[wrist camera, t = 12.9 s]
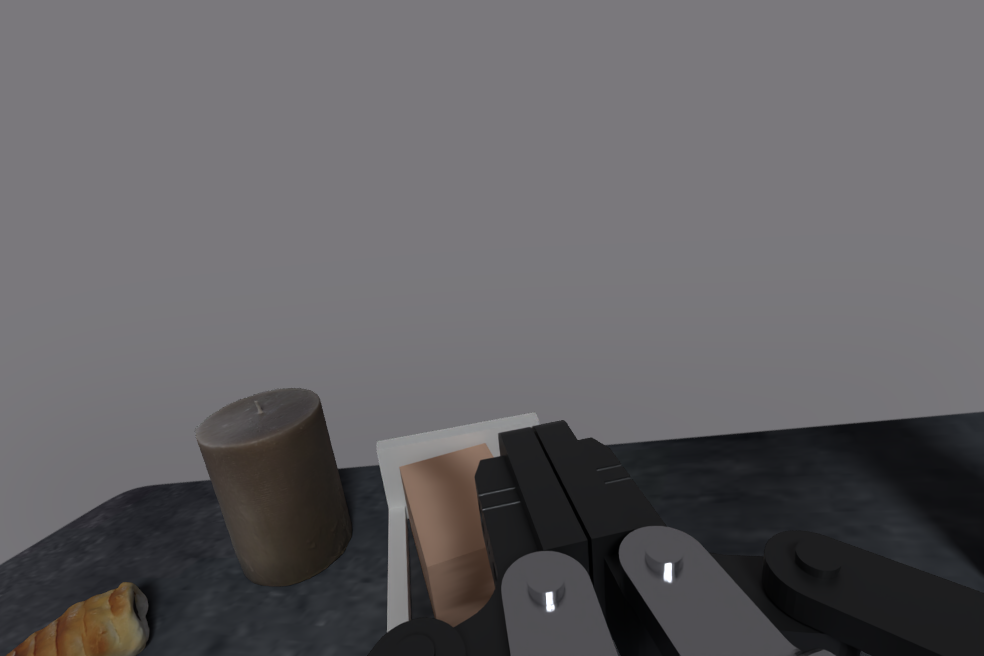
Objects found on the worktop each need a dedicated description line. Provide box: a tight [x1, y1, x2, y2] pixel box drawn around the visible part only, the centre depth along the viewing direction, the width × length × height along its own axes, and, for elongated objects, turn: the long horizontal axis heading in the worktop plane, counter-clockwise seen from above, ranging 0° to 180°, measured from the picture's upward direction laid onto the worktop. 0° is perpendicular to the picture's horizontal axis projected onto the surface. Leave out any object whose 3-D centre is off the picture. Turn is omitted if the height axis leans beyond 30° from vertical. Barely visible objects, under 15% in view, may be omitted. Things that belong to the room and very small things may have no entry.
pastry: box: [6, 582, 149, 656], centre depth 36 cm, size 9×7×4 cm
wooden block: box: [399, 443, 495, 627], centre depth 41 cm, size 8×12×7 cm, turn 19°
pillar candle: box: [195, 388, 352, 586], centre depth 43 cm, size 10×10×15 cm
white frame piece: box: [376, 413, 539, 632], centre depth 41 cm, size 15×15×8 cm
